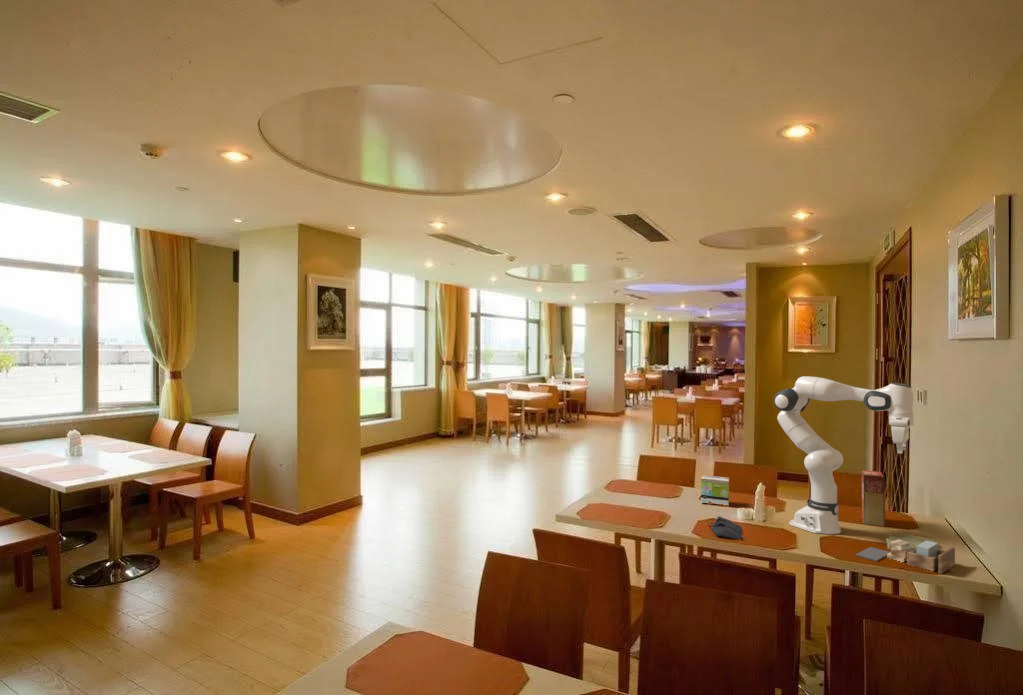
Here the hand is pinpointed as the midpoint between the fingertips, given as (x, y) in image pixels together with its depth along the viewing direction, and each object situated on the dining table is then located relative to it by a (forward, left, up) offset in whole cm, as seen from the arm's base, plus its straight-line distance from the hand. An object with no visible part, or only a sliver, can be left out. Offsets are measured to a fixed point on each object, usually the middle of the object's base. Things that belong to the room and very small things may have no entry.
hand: (901, 451), depth 239 cm
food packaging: (-24, +35, -44) cm, 61 cm away
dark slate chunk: (-59, -40, -44) cm, 84 cm away
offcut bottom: (+3, -10, -44) cm, 45 cm away
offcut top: (+3, -10, -39) cm, 40 cm away
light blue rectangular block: (+12, -8, -43) cm, 46 cm away
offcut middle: (+3, -10, -42) cm, 43 cm away
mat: (-5, -15, -43) cm, 46 cm away
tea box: (-91, -1, -44) cm, 101 cm away
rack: (+13, -8, -43) cm, 46 cm away
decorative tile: (+1, +9, -44) cm, 45 cm away
